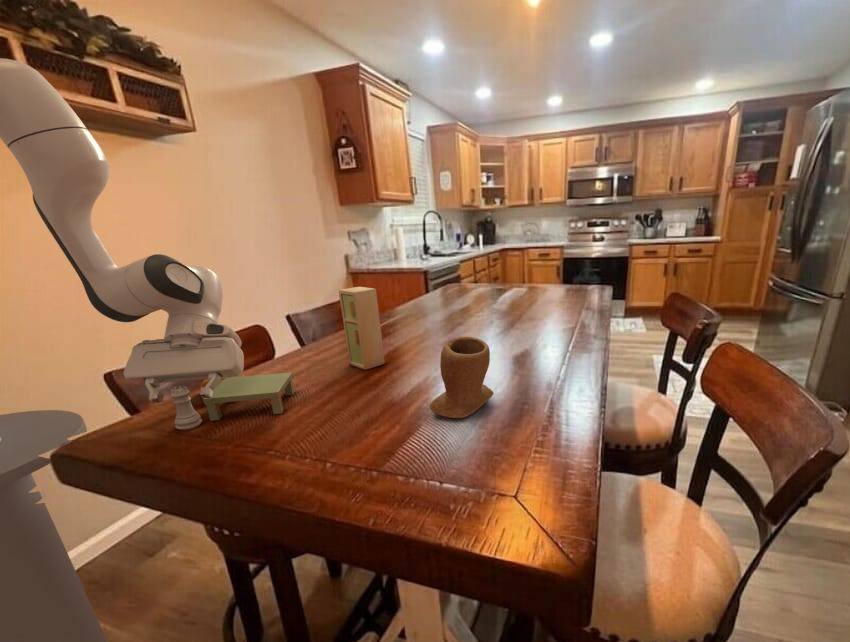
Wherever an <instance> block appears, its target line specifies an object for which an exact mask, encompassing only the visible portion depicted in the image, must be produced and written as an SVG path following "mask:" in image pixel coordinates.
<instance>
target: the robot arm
mask: <svg viewBox="0 0 850 642" xmlns="http://www.w3.org/2000/svg"><path fill="white" fill-rule="evenodd" d="M0 139H1V141H2V142H3V144H4V145H5V146H6V147H7V148H8V149H9V151H10V152H11V154H12V155H13V157H14V158H15V159H16V161H17V162H18V164H19V166H20V167H21V169H22V171H23V172H24V174H25V176H26V179H27V180H28V182H29V186H30V188H31V191H32V201H33V204H34V206H35V208H36V211H37V213H38V214H39V216H40V218H41V220H42V221H43V224H44V225H45V226H46V228H47V229H48V232H49V233H50V234H51V235H52V237H53V238H54V240H55V242H56V243H57V245H58V246H59V248H60V249H61V252H62V253H63V254H64V255H65V257H66V259H67V260H68V262H69V263H70V265H71V266H72V268H73V270H74V271H75V273H76V274H77V276H78V278H79V279H80V281H81V284H82V286H83V288H84V291H85V293H86V296H87V299H88V301H89V302H90V304H91V305H92V307H93V308H94V309H95V310H96V311H97V312H98V313H100V314H101V315H103V316H104V317H107V318H108V319H110V320H113V321H116V322H120V323H133V322H136V321H138V320H140V319H142V318H144V317H147V316H149V315H150V314H152V313H155V312H157V311H161V310H162V311H164V312H166V313H167V315H168V317H167V322H166V325H165V331H164V335H163V338H157V339H144V340H142V341H141V342H139V343H137V344H135V345H133V346H132V349H131V352H130V355H129V357H128V360H127V362H126V363H125V366H124V370H123V376H124V378H125V379H126V380H127V381H129V382H130V383H132V384H133V385H136V386H140V385H144V386H146V388H147V390H148V392H149V396H148V401H149V402H151V403H152V404H158V403H159V404H160V403H163V402H164V400H163V399H164V397H165V394H164V393H163V392H161V391H159V390H158V389H157V388H160V386H161V384H163V383H175V382H176V383H177V382H186V381H187V382H188V381H197V380H205V379H210V381H209V382H208V384H207V385H206V387H201V389H200V388H199V396H200V398H202V399H204V398H212V395H213V390H214V389H215V388H216V387H217V386H218V384H219V383H220V382H221V378H224V377H240V376H241V375H242V374H243V372H244V368H245V355H244V352H243V350H242V349H241V347H242V342H243V341H242V339H241V337H240V336H239V335H238V333H236V331H235V330H233V328H232V327H231V326H230V325H226V324H220V323H219V322H218V318H219V317H220V315H221V312H222V305H223V288H222V283H221V282H222V281H221V279H220V278H219V276H218V275H217V274H216V273H215V272H214V271H213V270H212V269H209V268H207V267H205V266H202V265H196V264H192V265H187V264H183V263H182V262H181V261H179V260H178V259H175V258H174V257H171V256H168V255H166V254H160V253H159V254H157V253H156V254H151V255H149V256H146V257H143V258H140V259H137V260H135V261H133V262H130V263H129V264H126V265H123V266H120V267H119V266H117V264H116V263H115V261H113V259H112V258H111V255H110V254H109V252H108V251H107V249H106V247H105V245H104V244H103V242H102V241H101V240H102V239H100V237H99V235H98V234H97V232H96V231H95V228H94V226H93V222H92V211H93V208H94V206H95V203H96V202H97V200H98V198H99V196H100V195H101V194H102V193H103V191H104V190H105V189H106V186H107V185H108V181H109V177H110V165H109V162H108V160H107V158H106V155H105V152H104V151H103V150H102V148H101V146H100V145H99V143H98V142H97V141H96V139H95V138H94V137H93V135H92V134H91V132H90V131H89V130H88V128H87V126H86V125H85V124H84V123H83V121H82V120H81V118H80V117H79V116H78V115H77V113H76V112H75V111H74V110H73V108H72V107H71V106H70V104H68V102H67V101H66V100H65V99H64V98H63V96H62V95H61V94H60V92H58V91H57V90H56V89H55V87H54V86H53V85H52V84H51V83H50V82H49V81H48V79H46V78H45V76H44V75H42V74H41V73H40V71H38V70H36V69H35V68H33V67H32V66H30V65H29V64H26V63H25V62H22V61H19V60H16V59H15V60H14V59H10V58H3V57H0ZM0 442H1V437H0Z"/></svg>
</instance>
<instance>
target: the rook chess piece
mask: <svg viewBox="0 0 850 642" xmlns="http://www.w3.org/2000/svg"><path fill="white" fill-rule="evenodd" d="M190 392H191V390H190V389H189V388H188V387H187V386H186V385H183V386H182V385H181V386H178V388H177V387H176V386H175V387H173V388H171V389H170V394H169V396H170V397H171V398H172V399H173V404H174V405H175V409H176V411H175V412H176V415H175V418H174V424H175V426H174V427H175V428H176V429H177V430H179V431H188V430H189V431H190V430H193V429H195V428H198V427H199V426H201V424H202V422H203V419H202V418H201V417H202V416H201V415H200V413H198V412H197V411H196V410H195V409H194V406H193V405H192V401H191V397H190V396H189V395H190Z"/></svg>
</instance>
